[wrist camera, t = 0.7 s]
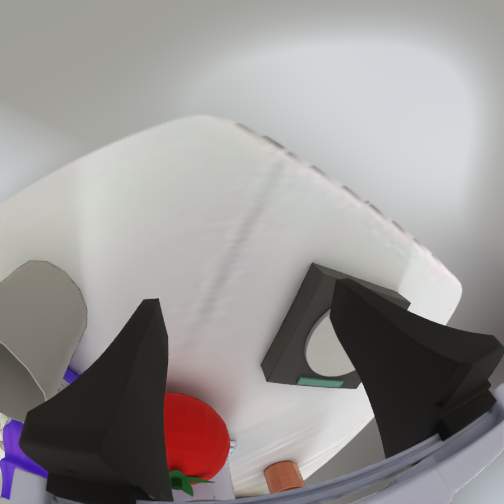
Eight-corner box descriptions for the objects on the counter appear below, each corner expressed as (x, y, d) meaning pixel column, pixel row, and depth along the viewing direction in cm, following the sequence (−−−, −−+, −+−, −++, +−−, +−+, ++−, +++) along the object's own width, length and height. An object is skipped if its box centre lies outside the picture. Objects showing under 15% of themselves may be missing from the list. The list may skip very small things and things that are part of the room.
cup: (29, 240, 18) (-44, 295, 8) (103, 302, 21) (64, 389, 11) (2, 306, 19) (-50, 369, 9) (66, 358, 22) (34, 437, 12)
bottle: (28, 366, 21) (-26, 496, 5) (52, 346, 21) (-11, 499, 5) (76, 408, 24) (50, 539, 8) (104, 393, 24) (82, 545, 8)
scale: (347, 375, 29) (358, 392, 26) (260, 365, 26) (267, 385, 23) (397, 292, 26) (414, 305, 24) (312, 262, 23) (326, 276, 20)
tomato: (203, 360, 24) (215, 452, 15) (235, 421, 28) (253, 495, 19) (106, 382, 23) (88, 464, 14) (153, 438, 27) (153, 508, 18)
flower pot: (286, 473, 36) (295, 497, 31) (258, 475, 34) (265, 500, 30) (301, 459, 35) (311, 483, 30) (272, 460, 33) (280, 487, 29)
